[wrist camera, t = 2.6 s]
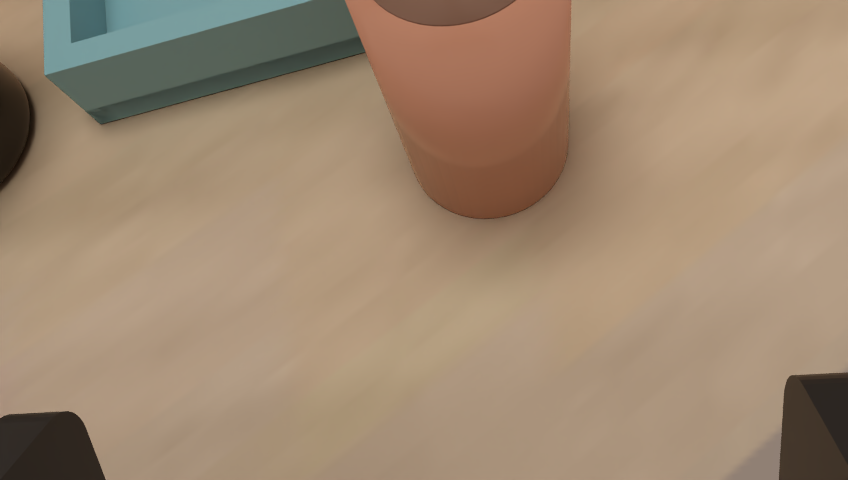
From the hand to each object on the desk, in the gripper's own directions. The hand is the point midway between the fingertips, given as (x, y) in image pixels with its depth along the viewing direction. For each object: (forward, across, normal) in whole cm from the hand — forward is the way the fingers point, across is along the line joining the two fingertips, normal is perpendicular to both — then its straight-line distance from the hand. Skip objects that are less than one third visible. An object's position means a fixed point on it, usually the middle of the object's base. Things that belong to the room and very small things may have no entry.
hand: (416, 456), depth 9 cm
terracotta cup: (+19, 0, +2) cm, 19 cm away
